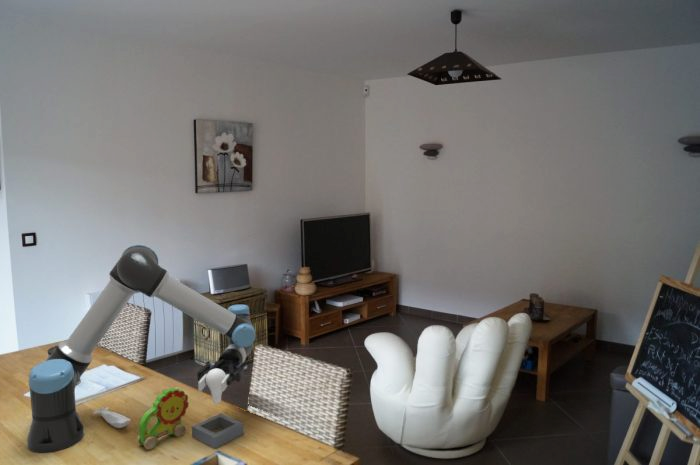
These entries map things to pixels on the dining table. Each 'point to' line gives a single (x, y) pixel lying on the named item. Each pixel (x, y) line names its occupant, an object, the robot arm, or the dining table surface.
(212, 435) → the frame
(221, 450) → the dining table surface
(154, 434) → the toy lion
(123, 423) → the white fish figurine
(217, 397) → the lightbulb
